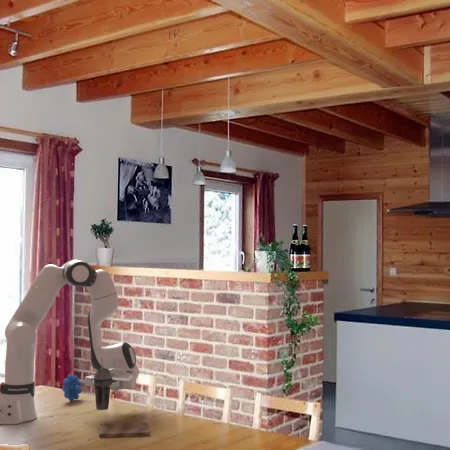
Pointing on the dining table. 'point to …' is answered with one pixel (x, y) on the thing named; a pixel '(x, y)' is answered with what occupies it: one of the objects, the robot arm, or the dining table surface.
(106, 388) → the beverage cup
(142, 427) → the walnut board
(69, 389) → the grapes
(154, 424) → the dining table surface
